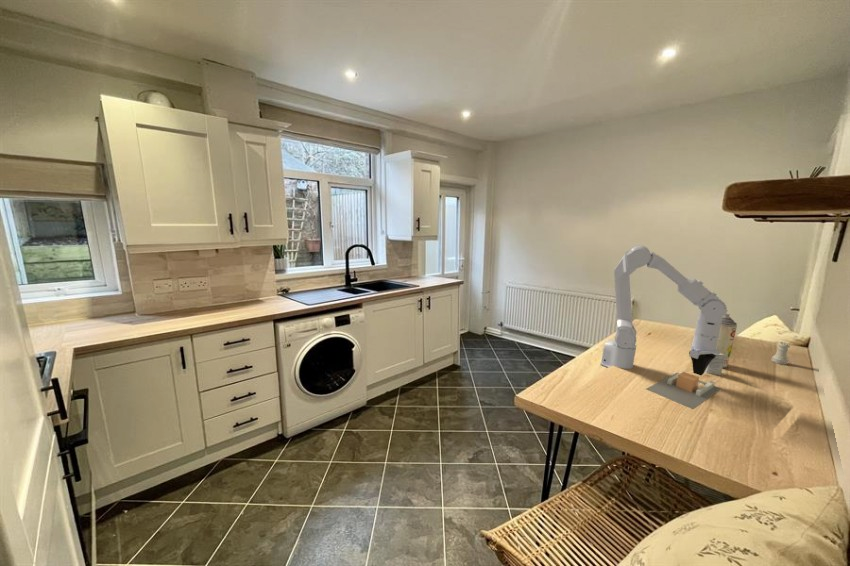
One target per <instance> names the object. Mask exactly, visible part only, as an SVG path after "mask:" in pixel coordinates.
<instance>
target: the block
mask: <svg viewBox="0 0 850 566" xmlns="http://www.w3.org/2000/svg"><path fill="white" fill-rule="evenodd" d="M681 372H682V371H681ZM681 372H679V373H680V374H679V375H678V378H677V383H676V387H679V388H682V389H684V390H687V391H689V392H693V391H694V390H696V389H697V387H698V384H699V382H698V381H699V380H700V377H699V376H697V375H694V374H691V373H689V372H686V371H683V372H682V373H681Z"/></svg>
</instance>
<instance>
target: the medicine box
mask: <svg viewBox="0 0 850 566" xmlns="http://www.w3.org/2000/svg"><path fill="white" fill-rule="evenodd" d="M713 354H715V353H713ZM715 355H716V357H715V358H714V359H713V360H712V361H711V362H710V363H709V365H708V366H707V368H706V370H705V372H704V373H705V374H708V375H709V374H710V375H715V376H718V377H721V376H722V371H723V368H722V367H723V363H724V358H725V355H723V354H722V353H720V354H715Z"/></svg>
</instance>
